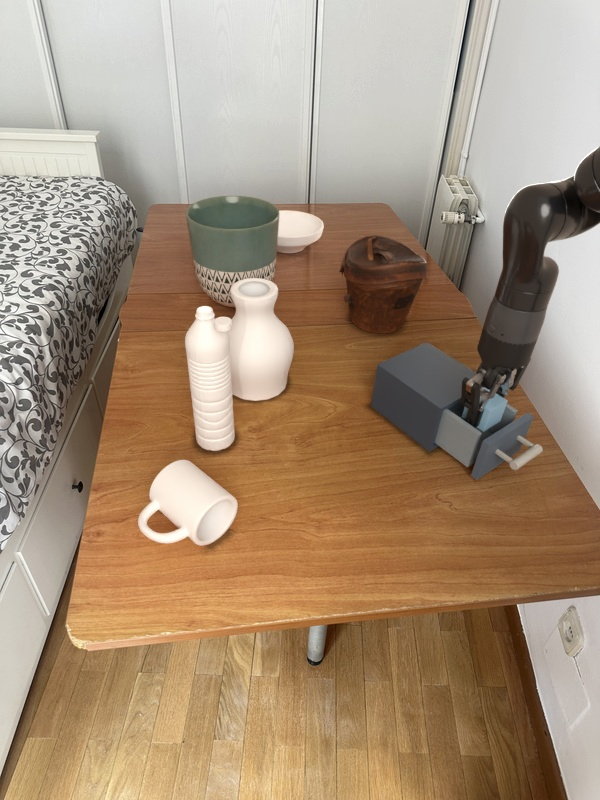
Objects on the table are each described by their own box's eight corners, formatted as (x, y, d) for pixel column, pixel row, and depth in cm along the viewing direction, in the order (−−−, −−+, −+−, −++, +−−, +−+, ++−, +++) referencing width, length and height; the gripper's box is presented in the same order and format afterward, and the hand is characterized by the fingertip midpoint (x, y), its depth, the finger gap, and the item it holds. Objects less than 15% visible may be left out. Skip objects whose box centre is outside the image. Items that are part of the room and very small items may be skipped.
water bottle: (188, 437, 91) (171, 307, 76) (219, 420, 95) (209, 293, 79) (220, 465, 87) (209, 333, 71) (251, 446, 90) (247, 316, 74)
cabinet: (476, 423, 97) (490, 381, 91) (429, 452, 91) (440, 408, 85) (417, 382, 106) (426, 341, 100) (370, 406, 100) (377, 364, 93)
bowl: (252, 234, 159) (251, 210, 155) (317, 233, 161) (318, 210, 157) (255, 263, 144) (254, 237, 140) (326, 262, 146) (328, 236, 142)
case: (358, 291, 134) (366, 220, 123) (431, 317, 126) (447, 243, 114) (318, 320, 123) (323, 245, 111) (396, 351, 114) (410, 273, 103)
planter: (252, 275, 139) (250, 190, 125) (294, 308, 126) (297, 218, 113) (181, 293, 130) (171, 204, 117) (218, 331, 118) (211, 236, 104)
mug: (196, 486, 83) (191, 449, 78) (239, 522, 78) (237, 486, 73) (128, 532, 76) (118, 494, 71) (172, 575, 71) (164, 539, 66)
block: (478, 407, 90) (485, 386, 87) (500, 421, 87) (508, 400, 84) (461, 417, 87) (467, 396, 85) (483, 432, 85) (490, 410, 82)
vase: (276, 412, 97) (277, 316, 85) (205, 393, 101) (196, 298, 88) (303, 369, 108) (307, 278, 95) (238, 353, 111) (234, 263, 98)
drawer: (541, 466, 88) (558, 431, 83) (498, 497, 82) (513, 461, 77) (457, 408, 99) (467, 374, 94) (414, 432, 93) (422, 397, 88)
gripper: (502, 356, 70) (471, 449, 81) (563, 324, 77) (527, 414, 88) (457, 330, 75) (434, 422, 86) (519, 303, 82) (490, 391, 93)
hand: (481, 417), depth 87 cm, fingers closed on block, 4 cm apart
